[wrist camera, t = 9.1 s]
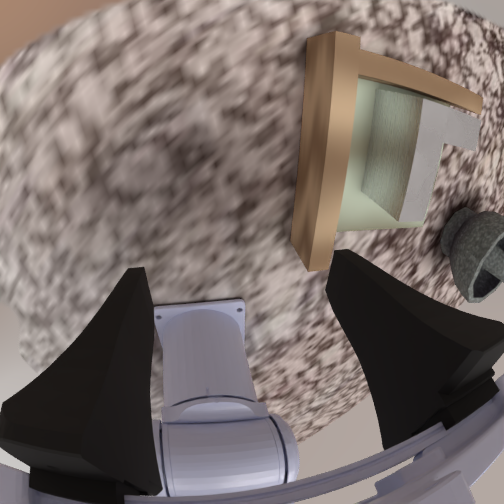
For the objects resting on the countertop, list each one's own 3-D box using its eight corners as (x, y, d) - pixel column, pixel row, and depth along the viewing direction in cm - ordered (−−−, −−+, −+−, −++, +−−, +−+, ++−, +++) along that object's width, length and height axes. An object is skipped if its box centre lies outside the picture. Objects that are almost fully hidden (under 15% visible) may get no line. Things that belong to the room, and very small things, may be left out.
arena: (417, 231, 25) (442, 254, 22) (290, 240, 22) (308, 271, 19) (449, 80, 17) (483, 88, 13) (307, 38, 14) (335, 31, 11)
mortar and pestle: (415, 261, 27) (484, 341, 18) (454, 183, 23) (544, 249, 13) (463, 269, 31) (517, 329, 21) (494, 208, 26) (559, 262, 16)
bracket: (375, 88, 16) (423, 98, 12) (435, 105, 17) (481, 120, 13) (360, 191, 21) (398, 222, 17) (418, 192, 22) (456, 220, 18)
